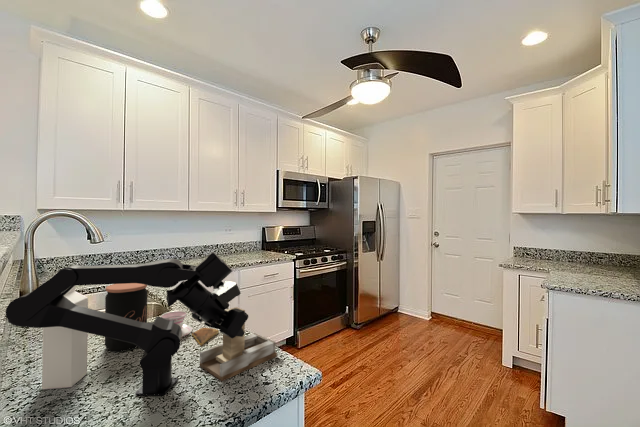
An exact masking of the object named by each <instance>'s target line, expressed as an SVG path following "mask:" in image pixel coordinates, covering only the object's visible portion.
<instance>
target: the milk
mask: <svg viewBox="0 0 640 427" xmlns="http://www.w3.org/2000/svg"><path fill="white" fill-rule="evenodd" d="M64 297H66V298H67V299H68V300H70V301H71V302H72V303H74V304H75V305H78V306H82V307H86V308H89V297H88V296H87V295H84V294H82V293H80V292H78V291H77V290H76V286H74V287H73V288H72V289H71V290H70V291H69V292H68V293H66V294H65V295H64ZM88 336H89V333H86V332H82V331H77V330H73V329H69V328H65V327H45V328H42V363H41V365H42V368H41V370H42V371H41V390H51V389H64V388H72V387H73V386H75V385H76V384H77V383H78V382H79V381H81V379H82V378H84V377H85V376H86V375H87V374H88Z"/></svg>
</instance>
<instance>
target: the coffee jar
mask: <svg viewBox="0 0 640 427" xmlns="http://www.w3.org/2000/svg"><path fill="white" fill-rule="evenodd" d="M147 288H148V285H145V284H139V283H126V284H108V285H106V287H105V291H106V293H107V294H106V295H105V297H104V300H105V301H104V302H105V303H104V304H105V306H104V310H105V313H109V314H113V315H117V316H120V317H124V318H128V319H132V320H136V321H140V322H145V323H147V322H148V290H147ZM104 346H105V348H106V349H107V350H108V351H109V352H115V353H118V352H119V353H120V352H121V353H122V352H127V351H131V350H134V349H137V348H139V347H138V346H137V345H135V344H133V343H129V342H124V341H120V340H116V339H112V338H107V337H104Z"/></svg>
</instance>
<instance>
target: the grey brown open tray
mask: <svg viewBox="0 0 640 427" xmlns="http://www.w3.org/2000/svg"><path fill="white" fill-rule="evenodd" d="M276 344H277V343H276V341H274V340H271V339H269V338H267V337H265V336H262V335H261V334H257V333H256V332H255V333H252V334H248V335H245V345H244V351H243V353H242V354H243V355H241V356H239V357H236V358H234V359H231V360H229V361H226V362H224V363H220V362H219V361H217V360H216V356H218V355H221V354H223V343H221V344H217V345H215V346H212V347H209V348H206V349H204V350H201V351H199V367H200V368H202V369H203V370H205V371H206V372H208V373H209V374H211V376H212V377H215V378H216V379H217V380H219V381H220V382H224V381H227V380H228V379H231V378H233V377H236V376H237V375H239V374H242V373H244V372H246V371H248V370H251V369H252V368H254V367H256V366H258V365H262V364H263V363H266V362H268V361H270V360H272V359H275V358H276V357H278V352H277V351H276V348H277V347H276Z"/></svg>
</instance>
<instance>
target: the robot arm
mask: <svg viewBox="0 0 640 427" xmlns="http://www.w3.org/2000/svg"><path fill="white" fill-rule="evenodd" d="M232 272H233V269H232V268H231V267H230V266H229V264H228V263H226V262H225V260H224V259H222V258H221V257H220V256H218V255H217V254H216V253H215V252H214V251H211V252H210V253H209V254H208V255H207V256H206V258H205V259H203V260H202V261H201V262H200V263H199V264H198V265H194V264H186V263H185V264H184V263H182V262H181V261H180V260H178V259H176V258H165V259H161V260H156V261H151V262H146V263H141V264H106V265H104V264H102V265H98V264H97V265H80V264H71V265H68V266H66V267H63V268H61V269H60V270H59V269H58V271H57V272H56V273H55V274H54V275H53V276H52V277H50V278H49V279H48V280H46V281H45V282H44V283H42V284H41V285H40V286H38V287H37V288H35V289H34V290H33V291H31V292H28V293H26V294H24V295H22V296H19V297H17V298H14V299H13V300H11V302H9V304H8V305H7V306H6V309H5V318H6V319H7V322H8V323H9V324H11V325H13V326H14V327H18V328H19V327H20V328H33V329H34V328H35V329H40V328H41V329H43V328H45V327H65V328H69V329H73V330H77V331H82V332H86V333H88V334H92V335H96V336H100V337H103V338H105V337H107V338H112V339H116V340H120V341H124V342H129V343H133V344H135V345H137V346H138V347H137V348H139V349H140V350H142V351H143V354H142V356H141V358H140V360H139V365H140V367H141V371H142V378H141V379H142V382H141V383H142V384H141V386H140V388H139V387H138V389H137V390H136V391H135V393H134V394H135V396H150V397H151V396H154V397H155V396H156V397H158V396H161V397H162V396H165V395H167V393H168V392H169V391H170V390H171V389H172V387H173V386H174V385H175V384H176V383H177V382H178V380H179V377H172V376H173V375H172V373H173V372H172V369H173V368H172V366H173V365H172V364H173V357H172V356H174V355H176V354H177V353H178V351H179V349H180V346H181V342H182V338H183V337H182V330H181V328H180V326H179V325H178V324H176V323H174V321H175V320H166V319H164V318H162V317H161V316H158V315H157V316H156V317H155V319H154V321H152V322H151V321H150V322H148V321H147V323H145V322H140V321H136V320H132V319H128V318H124V317H120V316H117V315H113V314H109V313H105V312H104V311H101V310H98V309H97V310H96V309H93V308H89V307H88V308H86V307H82V306H78V305H75V304H74V303H72V302H71V301H70V300H68V299H67V298H66V297H64V295H65V294H66V293H68V292H69V291H70V290H71V289H72V288H73V287H74V286H75V287H76V286H94V285H95V286H100V285H113V284H126V283H139V284H145V285H147V286H150V287H155V288H164V289H165V288H167V289H168V290H166V297H165V299H166V302H167V306H168V307H172V306H173V305H174V304H175V303H176V302H177V301H178V302H180V304H182V305H184V306H185V307H186V308H187V309H188V311H189V312H191V318H192V319H194V320H195V321H197V322H199V323H200V324H201V323H202V322H204V323H203V324H204V326H206V327H207V328H213V329H216V330H219V333H220V334H222V335H223V334H224V335H226V336H228V337H230V338H232V339H233V338H234V337H236V336H240V337H242V336H243V335H244V331H243V329H242V326H243V325H244V323H245V324H246V322H247V320H248V319H249V314H247V312H246V311H245V312H244V311H242V310H240V309H237V308H235V307H234V308H235V309H231V308H230V309H231V310H229V311H226V310H227V309H229V306H230V303H229V302H232V300H233V299H235V298H236V297H239V296H240V295H241V291H240V288H239V286H238V284H237V282H235V281H231V280H225V279H226V278H227V277H228V276H230V274H232ZM223 281H224V282H223ZM179 282H180V283H179ZM200 282H201V283H202V284H201V283H200ZM178 283H179V284H178ZM177 284H178V285H177ZM173 287H174V288H173ZM170 288H173V289H170ZM207 288H213V289H212V292H211V291H210V290H208V289H207Z"/></svg>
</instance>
